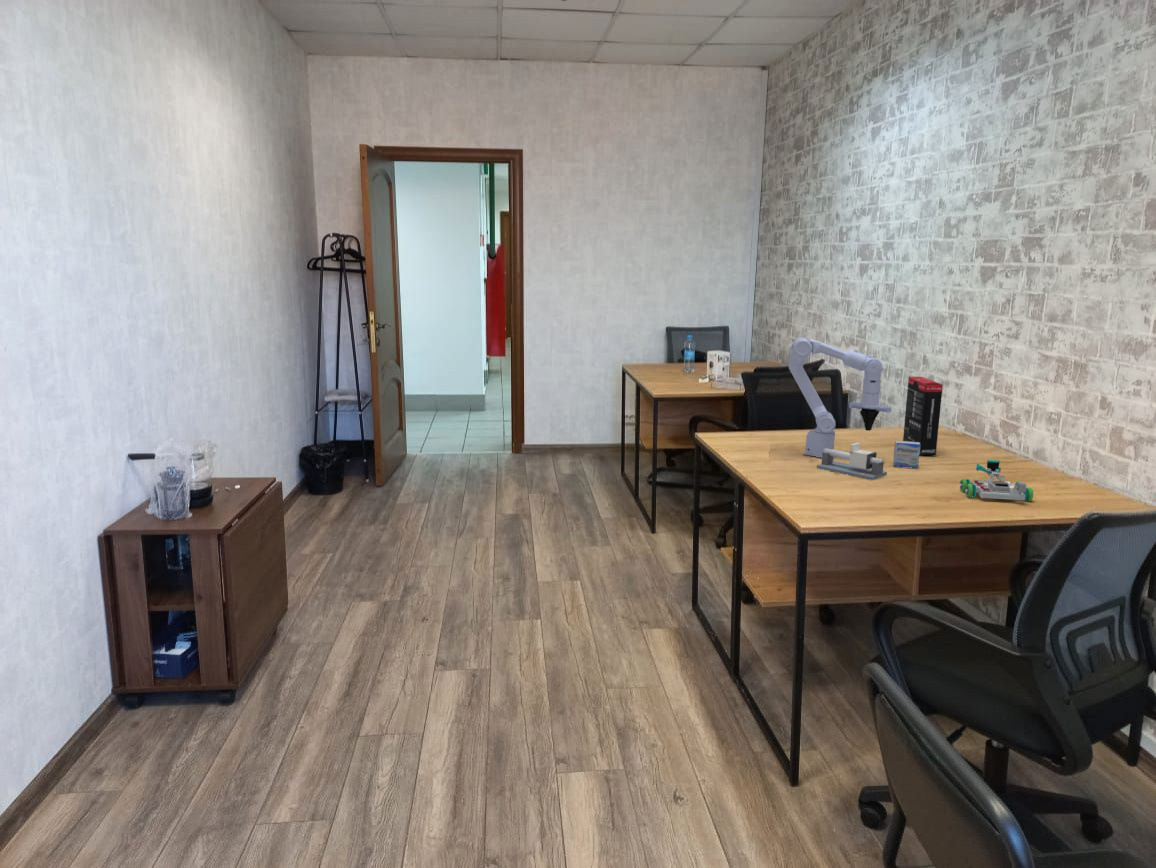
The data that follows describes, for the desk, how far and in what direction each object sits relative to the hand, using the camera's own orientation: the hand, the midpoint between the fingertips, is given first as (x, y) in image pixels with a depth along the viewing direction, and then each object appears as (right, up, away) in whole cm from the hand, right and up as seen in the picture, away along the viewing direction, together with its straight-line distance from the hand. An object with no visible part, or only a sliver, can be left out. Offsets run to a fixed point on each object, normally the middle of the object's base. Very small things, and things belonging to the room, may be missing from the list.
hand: (868, 430), depth 283 cm
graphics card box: (+24, -8, +14) cm, 29 cm away
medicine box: (+10, -13, -8) cm, 18 cm away
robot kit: (+24, -20, -38) cm, 49 cm away
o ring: (-7, -13, -21) cm, 26 cm away
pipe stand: (-12, -14, -16) cm, 24 cm away
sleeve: (-9, -12, -19) cm, 24 cm away
